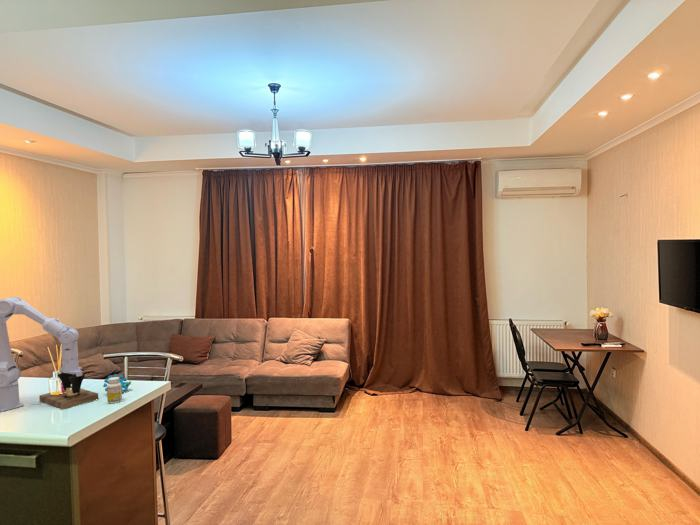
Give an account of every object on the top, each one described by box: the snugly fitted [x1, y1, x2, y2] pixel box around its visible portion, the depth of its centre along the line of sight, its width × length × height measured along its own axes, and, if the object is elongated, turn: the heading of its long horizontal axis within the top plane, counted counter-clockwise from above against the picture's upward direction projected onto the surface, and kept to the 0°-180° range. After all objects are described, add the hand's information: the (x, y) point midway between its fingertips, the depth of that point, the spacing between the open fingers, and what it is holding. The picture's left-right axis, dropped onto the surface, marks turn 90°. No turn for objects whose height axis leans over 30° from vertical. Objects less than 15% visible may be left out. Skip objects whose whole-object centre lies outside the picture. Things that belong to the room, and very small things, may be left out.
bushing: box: [66, 385, 78, 398], centre depth 197 cm, size 4×4×6 cm
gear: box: [102, 373, 132, 394], centre depth 208 cm, size 11×6×10 cm
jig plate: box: [38, 387, 99, 410], centre depth 199 cm, size 20×14×2 cm
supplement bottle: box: [106, 376, 123, 404], centre depth 195 cm, size 5×5×10 cm
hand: (71, 391), depth 197 cm, fingers open, 7 cm apart
